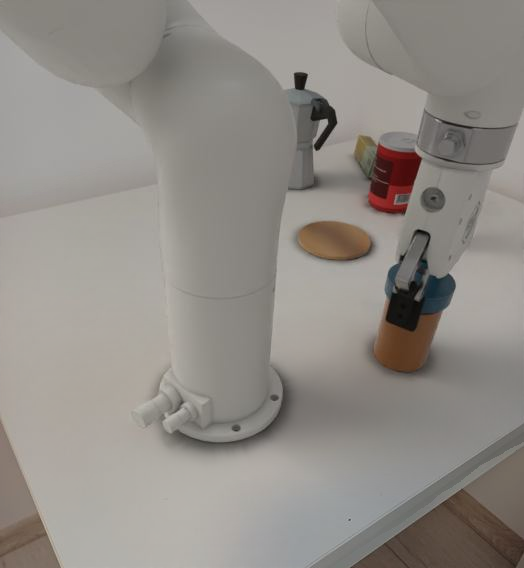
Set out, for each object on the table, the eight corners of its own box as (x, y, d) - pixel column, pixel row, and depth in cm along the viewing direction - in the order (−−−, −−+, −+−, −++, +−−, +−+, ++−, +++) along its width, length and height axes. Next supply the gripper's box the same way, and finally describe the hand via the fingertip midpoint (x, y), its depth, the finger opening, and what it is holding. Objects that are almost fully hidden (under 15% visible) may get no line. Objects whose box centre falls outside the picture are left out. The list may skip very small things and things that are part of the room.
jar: (409, 380, 56) (432, 309, 50) (363, 354, 59) (379, 285, 53) (435, 353, 60) (459, 284, 53) (390, 331, 63) (408, 263, 56)
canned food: (418, 201, 91) (434, 138, 84) (402, 218, 86) (418, 152, 78) (378, 190, 94) (390, 127, 87) (360, 205, 89) (371, 140, 81)
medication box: (381, 180, 98) (388, 159, 95) (368, 178, 97) (374, 157, 95) (365, 154, 106) (370, 135, 104) (352, 153, 106) (358, 133, 103)
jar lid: (388, 270, 57) (391, 255, 56) (451, 282, 56) (456, 267, 55) (380, 305, 52) (384, 289, 51) (449, 319, 51) (455, 304, 49)
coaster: (342, 268, 73) (343, 265, 73) (283, 240, 78) (283, 237, 78) (383, 241, 79) (384, 238, 79) (326, 217, 85) (326, 214, 84)
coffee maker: (251, 174, 97) (254, 68, 85) (284, 164, 101) (292, 61, 90) (309, 202, 89) (321, 89, 77) (342, 189, 93) (358, 80, 82)
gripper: (479, 181, 36) (418, 366, 48) (531, 121, 47) (471, 283, 59) (381, 155, 39) (346, 336, 51) (452, 105, 50) (410, 262, 62)
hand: (413, 306), depth 55 cm, fingers closed on jar lid, 6 cm apart
